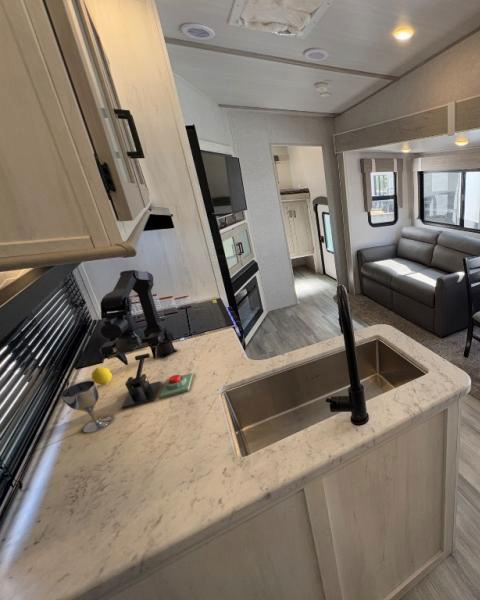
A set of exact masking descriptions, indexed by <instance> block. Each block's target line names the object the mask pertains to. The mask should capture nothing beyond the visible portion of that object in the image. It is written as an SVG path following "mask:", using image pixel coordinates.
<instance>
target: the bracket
mask: <svg viewBox="0 0 480 600" xmlns="http://www.w3.org/2000/svg"><path fill="white" fill-rule="evenodd" d="M132 380H133V376H129V377H128V378H127V380H126V381H125V384H124V385H125V387H126V389H127V391H128V395H127V397H126V398H125V400H124V402H123V405H122V406H121V408H122V409H123V410H125V409H129V408H132V407H137V406H140V405H143V404H147V403H151V402H154V400H155V397H156V396H157V393H158V391H159V388H160V386H161V381H160V380H159V381H154V382H151V383H150V382H149V379H148V376H147V374H146V373H141V377H140V379H139V383H140V385H141V387H137V388H134V387H133V386H132V385H131V384H132Z"/></svg>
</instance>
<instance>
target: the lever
mask: <svg viewBox="0 0 480 600" xmlns="http://www.w3.org/2000/svg"><path fill="white" fill-rule="evenodd" d="M149 358H151V354H150V353H149V352H147V353H144V354H143V353H142V354H138V355H135V356H134V360H135V361H138V366H137V371H136V376H135V377H134V378H133V380H132V384H131V385H132V386H133V387H134V388H137V387H141V385H140V383H139V379H140V377H141V375H142V374H143V368H144V362H145V359H149Z"/></svg>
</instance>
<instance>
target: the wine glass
mask: <svg viewBox="0 0 480 600" xmlns="http://www.w3.org/2000/svg"><path fill="white" fill-rule="evenodd" d="M99 393H100V392H99V389H98V386H97V383H95V382H94V381H93V380H86V381H81V382H78V383H75V384H73V385H70V386H69V387H67V388H65V389H63V390H62V392H61V393H60V397H61V399H62V401H63V402H64V403H65V405H67V406H68V407H69V408H70V409H72V410H75V411H80V412H85V413H87V414H88V415H89V416H90V417H91V418H92V421H89V423H87V424H86V425H85V426H84V427H83V432H84V433H87V434H88V433H94V432H96V431H97V432H98V431H99V430H102V429H104V427H106V426H108V425H109V424H110V423H111V421H112V416H101V417H99V418H97V417H96V415H95V411H94V409H95V406H96V404H97V402H98V401H99V398H100V394H99Z"/></svg>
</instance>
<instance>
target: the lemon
mask: <svg viewBox="0 0 480 600" xmlns="http://www.w3.org/2000/svg"><path fill="white" fill-rule="evenodd" d="M112 376H113V375H112V372H111V370H110V369H109V368H107V367H103V366H98V367H96V368H95V369H93V371H92V373H91V379H92V381H93V382H94V383H95V384H96V385H97V384H98V385H107V384H108V383H109V382H110V381H111V380H112Z"/></svg>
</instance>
